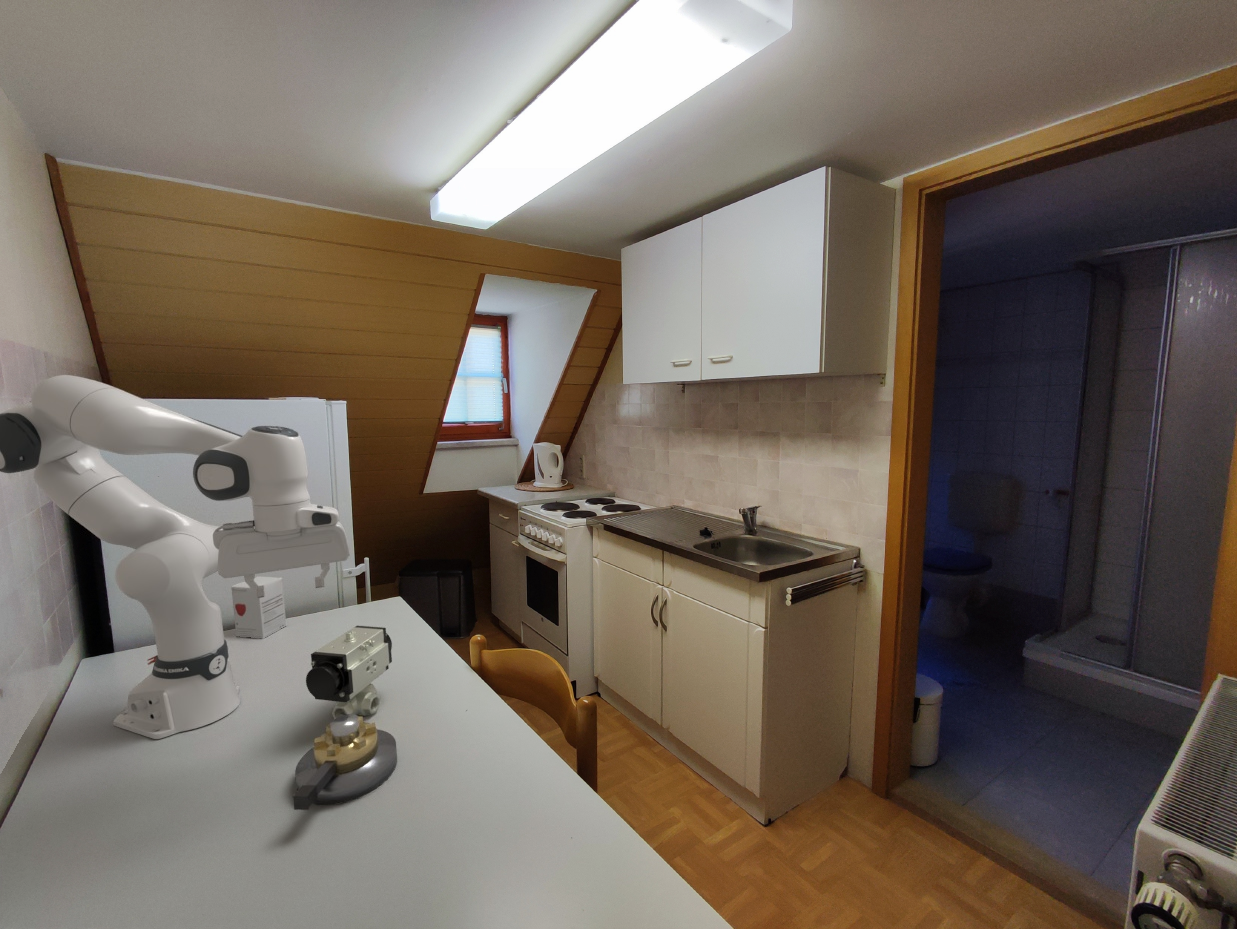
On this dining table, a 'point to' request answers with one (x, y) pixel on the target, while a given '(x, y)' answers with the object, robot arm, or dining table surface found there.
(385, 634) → the ball valve
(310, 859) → the dining table surface
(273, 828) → the dining table surface
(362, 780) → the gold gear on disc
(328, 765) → the lever handle valve
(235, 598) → the supplement box
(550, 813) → the dining table surface
